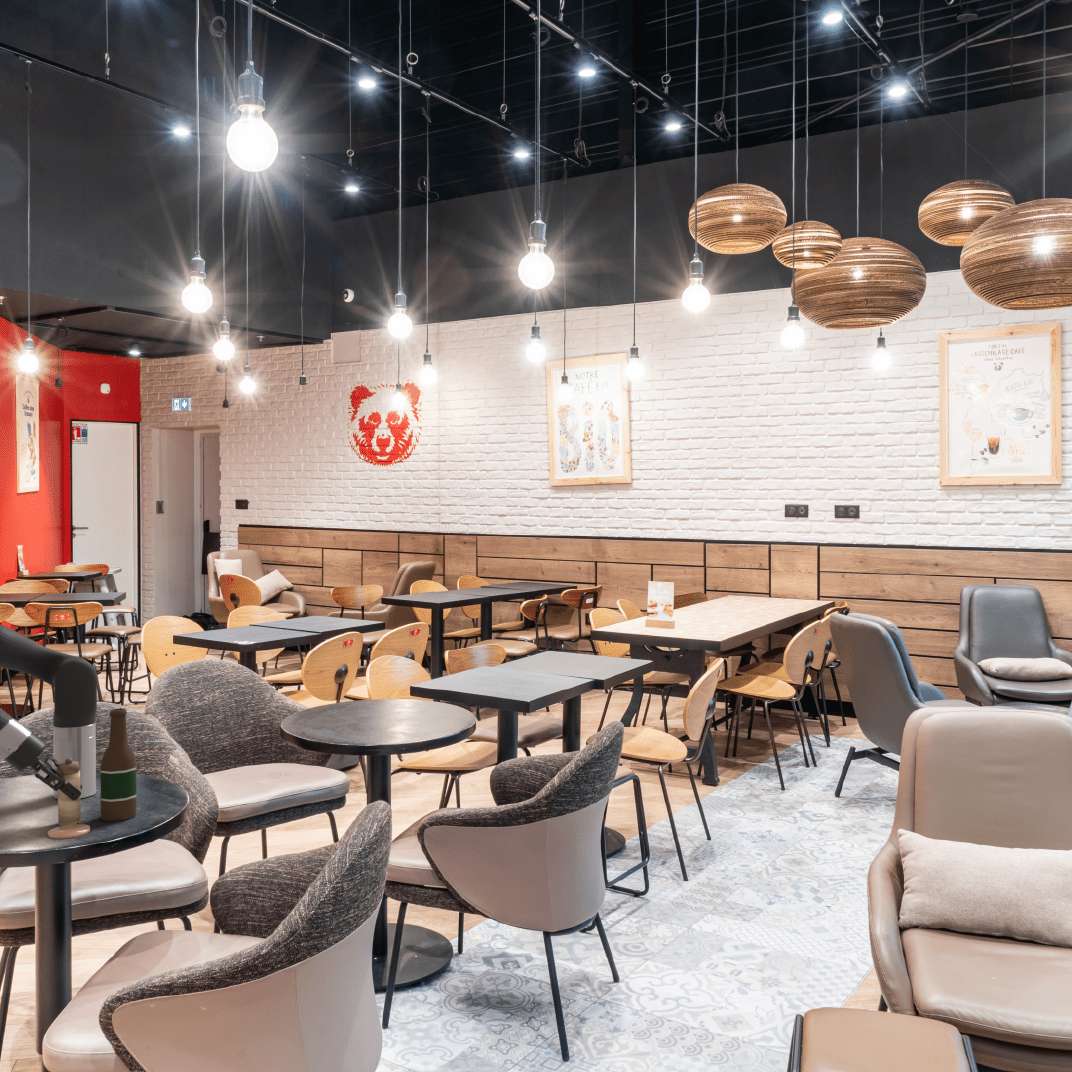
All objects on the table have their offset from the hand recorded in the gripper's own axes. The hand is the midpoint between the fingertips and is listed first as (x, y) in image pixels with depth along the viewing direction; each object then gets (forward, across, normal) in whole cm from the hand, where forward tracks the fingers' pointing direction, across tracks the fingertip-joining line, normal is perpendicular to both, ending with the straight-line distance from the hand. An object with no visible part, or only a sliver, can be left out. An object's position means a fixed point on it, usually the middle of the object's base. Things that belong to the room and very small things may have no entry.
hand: (78, 793), depth 208 cm
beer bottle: (+10, 0, +1) cm, 10 cm away
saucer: (+3, +8, -6) cm, 10 cm away
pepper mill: (+3, 0, -6) cm, 6 cm away
